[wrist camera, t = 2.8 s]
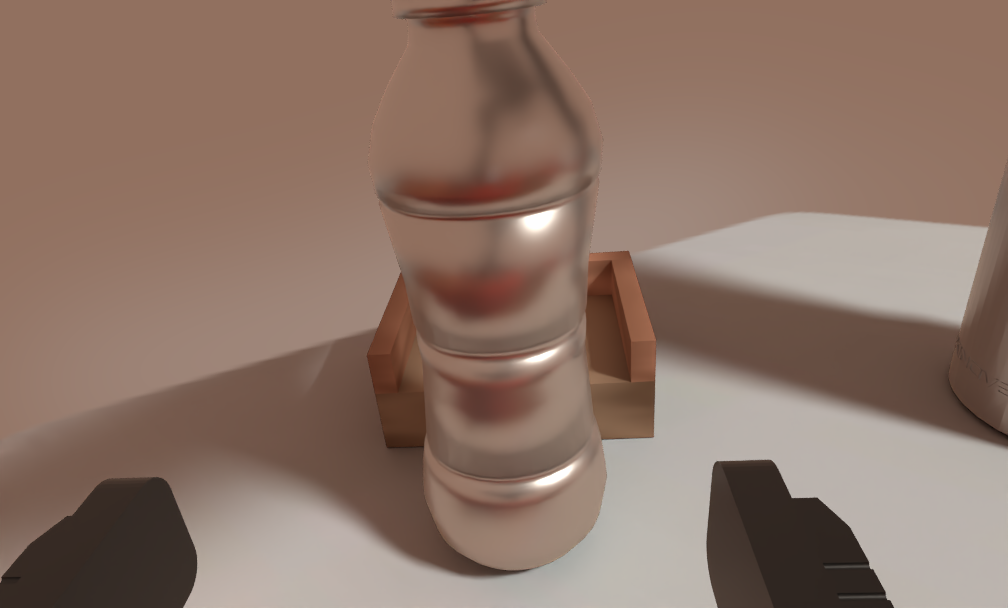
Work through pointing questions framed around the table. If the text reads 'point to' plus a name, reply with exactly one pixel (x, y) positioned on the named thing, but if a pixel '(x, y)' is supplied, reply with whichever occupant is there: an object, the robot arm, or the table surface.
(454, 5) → the plastic bottle
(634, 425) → the dock
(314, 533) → the table surface
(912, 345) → the table surface
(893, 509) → the table surface
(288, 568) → the table surface
